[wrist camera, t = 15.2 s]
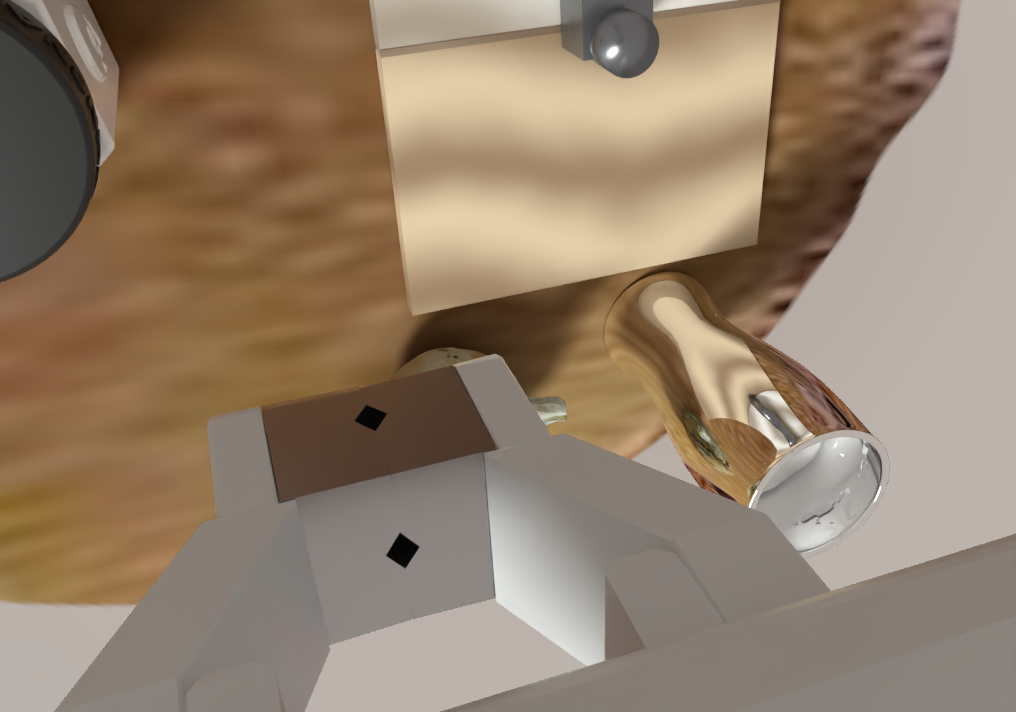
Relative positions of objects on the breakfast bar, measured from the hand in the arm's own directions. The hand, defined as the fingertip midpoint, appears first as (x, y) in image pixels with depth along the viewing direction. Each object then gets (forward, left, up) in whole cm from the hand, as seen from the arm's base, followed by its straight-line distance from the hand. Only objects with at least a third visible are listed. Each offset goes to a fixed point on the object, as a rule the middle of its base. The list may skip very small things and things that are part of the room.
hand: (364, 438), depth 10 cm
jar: (+2, -8, -31) cm, 32 cm away
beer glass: (+20, +19, -31) cm, 42 cm away
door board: (+4, +15, -31) cm, 35 cm away
